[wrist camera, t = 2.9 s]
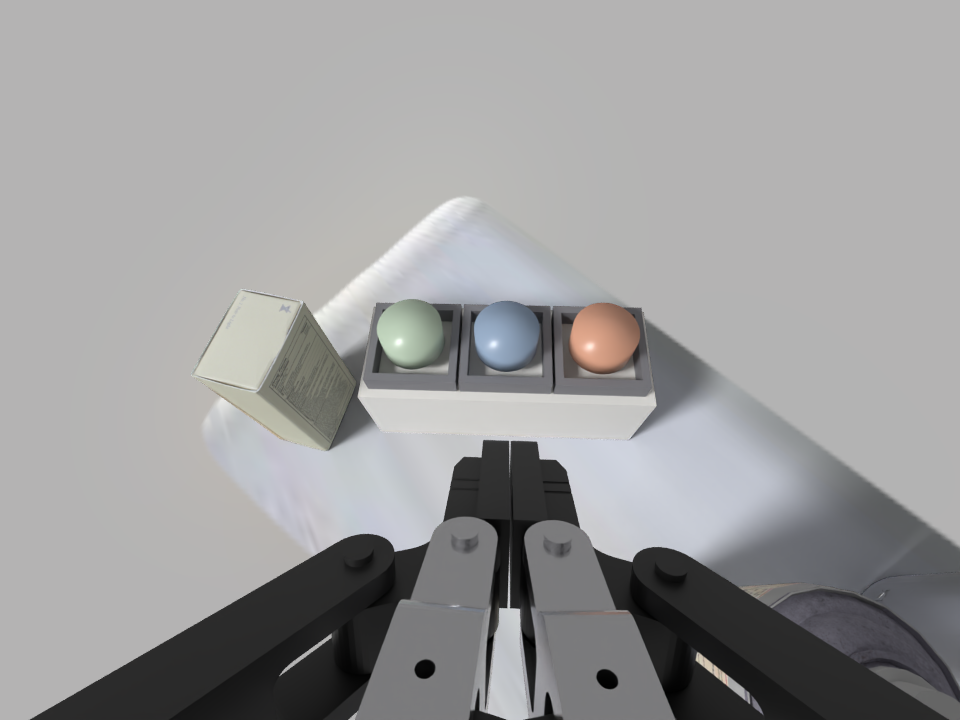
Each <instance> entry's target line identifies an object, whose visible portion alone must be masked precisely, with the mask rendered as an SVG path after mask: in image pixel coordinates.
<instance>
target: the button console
mask: <svg viewBox="0 0 960 720" xmlns="http://www.w3.org/2000/svg"><path fill="white" fill-rule="evenodd" d="M393 304H395V303H376V307H374V309H373V315H372V320H371V326H370V332H369V337H368V343H367V348H366V354H365V359H364V365H363V370H362V376H361V382H360V387H359V393H358V398H359V400H360V401H361V403H362V404H363V406H364V407H365V409H366V410H367V412H368V413H369V414H370V416H371V417H372V419H373V420H374V422H375V423H376V425H377V426H378V428H379V429H380V431H381V432H392V433H422V434H452V435H482V436H512V437H543V438H573V439H603V440H629V439H630V438H631V437H632V435H633V434H634V433H635V432H636V431H637V429H638V428H639V427H640V426H641V424H642V423H643V422H644V421H645V420H646V418H647V417H648V416H649V415H650V413H651V412H652V411H653V410H654V409H655V407H656V406H657V405H656V398H655V391H654V384H653V376H652V369H651V362H650V355H649V348H648V341H647V333H646V326H645V319H644V312H642V309H641V308H624V309H625V310H627V311H628V312H629V313H630V314H631V315H632V316H633V317H634V318H635V319H636V321H637V323H638V325H639V329H640V340H639V343H638V345H637V347H636V349H635V351H634V352H633V354H632V356H631V358H630V360H629V361H628V363H627V364H626V365H625V367H623V368H622V369H621V370H619V371H617V372H615V373H611V374H603V375H602V374H595V373H591V372H588V371H586V370H584V369H583V368H581V367H580V366H579V365H578V364H577V363H576V362H575V361H574V360H573V358H572V357H571V354H570V352H569V346H568V343H569V338H570V334H571V330H572V327H573V323H574V320H575V318H576V316H577V315H578V313H579V312H580V311H581V310H582V309H584V308H585V307H569V306H553V310H551V309H550V306H526V307H528V308H529V309H530V310H531V311H532V312H533V313H534V314H535V316H536V317H537V319H538V322H539V327H540V333H539V339H538V345H537V351H536V354H535V356H534V358H533V359H532V361H531V362H530V363H529V364H528V365H527V366H525V367H524V368H522V369H519V370H517V371H512V372H501V371H496V370H493V369H491V368H489V367H488V366H486V365H485V364H484V363H483V362H482V361H481V360H480V358H479V357H478V355H477V352H476V347H475V336H474V324H475V321H476V318H477V316H478V315H479V313H480V312H481V311H482V310H483V309H484V308H486V307H487V306H489V305H466V304H464V309H462V307H461V304H430V305H432V306H433V307H434V308H435V309H436V310H437V311H438V313H439V315H440V318H441V322H442V327H443V332H444V337H445V344H444V348H443V351H442V353H441V355H440V356H439V357H438V358H437V360H435V361H434V362H433V363H432V364H430V365H428V366H426V367H424V368H420V369H413V370H410V369H403V368H400V367H398V366H396V365H395V364H393V363H392V362H391V361H390V360H389V359H388V357H387V356H386V354H385V351H384V349H383V347H382V345H381V343H380V340H379V338H378V335H377V324H378V321H379V318H380V317H381V315H382V314H383V312H384V311H385V310H386V309H387V308H388V307H390V306H391V305H393Z"/></svg>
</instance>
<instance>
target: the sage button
mask: <svg viewBox="0 0 960 720" xmlns="http://www.w3.org/2000/svg"><path fill="white" fill-rule="evenodd" d="M377 335H378V338H379V340H380V343H381V345H382V347H383V349H384V351H385V354H386V356H387V357H388V359H389V360H390V361H391V362H392V363H393V364H395V365H396V366H398V367H400V368H403V369H410V370H413V369H420V368H424V367H426V366H428V365H430V364H432V363H433V362H434V361H435V360H437V358H438V357H439V356H440V355H441V353H442V351H443V348H444V344H445V337H444V332H443V327H442V322H441V318H440V315H439V313H438V311H437V310H436V309H435V308H434V307H433V306H432V305H430V304H429V303H427V302H425V301H421V300H416V299H408V300H403V301H399V302H397V303H395V304H393V305H391V306H390V307H388V308H387V309H386V310H385V311H384V312H383V314H382V315H381V317H380V318H379V321H378V324H377Z"/></svg>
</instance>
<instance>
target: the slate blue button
mask: <svg viewBox="0 0 960 720" xmlns="http://www.w3.org/2000/svg"><path fill="white" fill-rule="evenodd" d="M539 333H540V327H539V322H538V319H537V317H536V316H535V314H534V313H533V312H532V311H531V310H530V309H529V308H528V307H526V306H524V305H522V304H520V303H517V302H512V301H501V302H496V303H493V304H491V305H489V306H487V307H486V308H484V309H483V310H482V311H481V312H480V313H479V315H478V316H477V318H476V321H475V324H474V336H475V347H476V352H477V355H478V357H479V358H480V360H481V361H482V362H483V363H484V364H485V365H486V366H488V367H489V368H491V369H493V370H496V371H501V372H512V371H517V370H519V369H522V368H524V367H525V366H527V365H528V364H529V363H530V362H531V361H532V359H533V358H534V356H535V354H536V351H537V345H538V339H539Z"/></svg>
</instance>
